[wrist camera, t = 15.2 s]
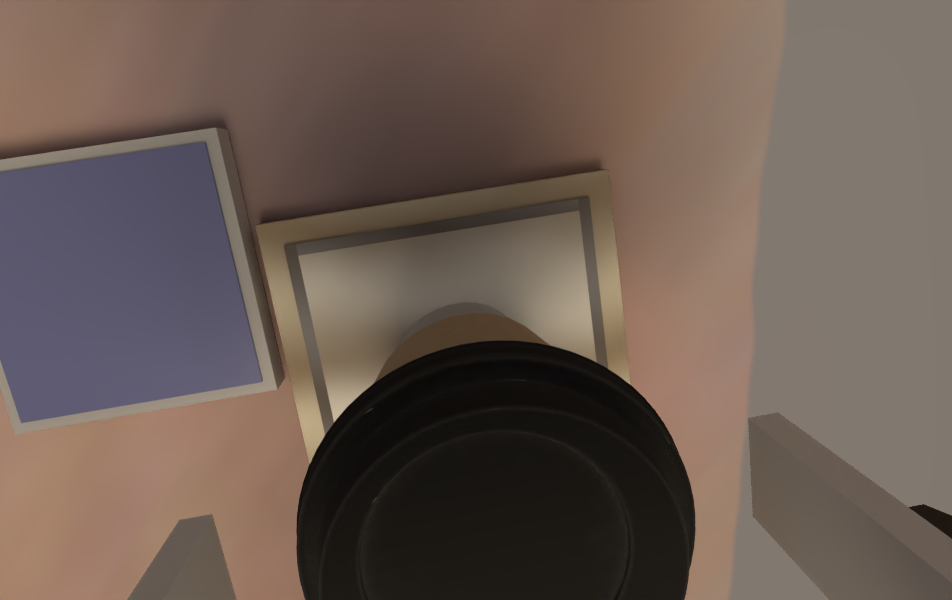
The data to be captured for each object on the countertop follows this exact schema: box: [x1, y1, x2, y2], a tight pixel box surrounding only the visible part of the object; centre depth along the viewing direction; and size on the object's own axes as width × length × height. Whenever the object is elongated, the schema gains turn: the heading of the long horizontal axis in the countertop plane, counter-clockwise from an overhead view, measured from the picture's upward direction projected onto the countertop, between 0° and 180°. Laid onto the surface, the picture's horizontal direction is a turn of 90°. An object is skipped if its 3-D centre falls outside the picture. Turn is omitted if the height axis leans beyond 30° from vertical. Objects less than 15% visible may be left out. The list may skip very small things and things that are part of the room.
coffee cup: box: [297, 302, 695, 600], centre depth 20 cm, size 9×9×15 cm
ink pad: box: [0, 127, 285, 434], centre depth 26 cm, size 11×11×2 cm
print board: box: [255, 170, 631, 463], centre depth 28 cm, size 15×15×1 cm
